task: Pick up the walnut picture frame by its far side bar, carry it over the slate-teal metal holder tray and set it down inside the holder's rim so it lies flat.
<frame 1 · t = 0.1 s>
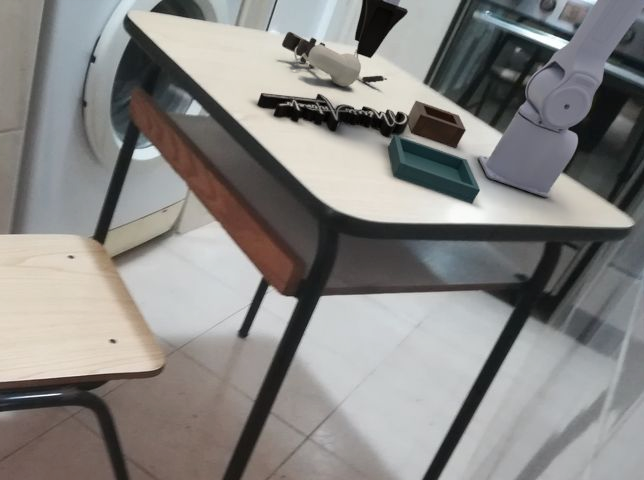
hand: (362, 48, 94), 10 cm above the table, tool pointing down, fingers open, 7 cm apart
nameplate: (338, 120, 100), on the table
frame: (430, 132, 108), on the table
holder: (428, 174, 93), on the table
clip-on lamp: (330, 78, 117), on the table
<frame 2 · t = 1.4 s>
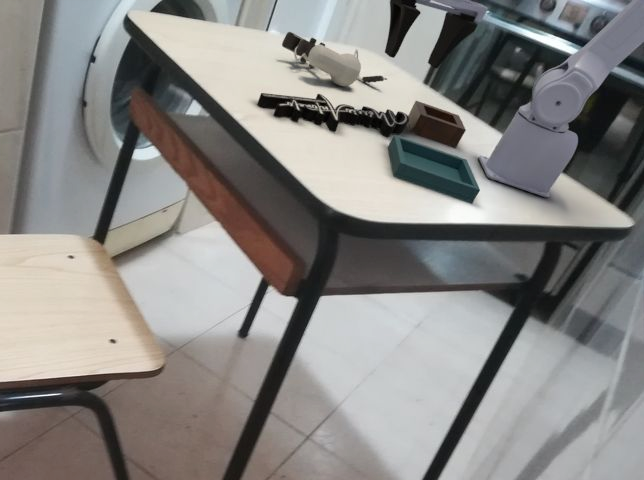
hand: (411, 60, 99), 10 cm above the table, tool pointing down, fingers open, 7 cm apart
nothing on the table moved.
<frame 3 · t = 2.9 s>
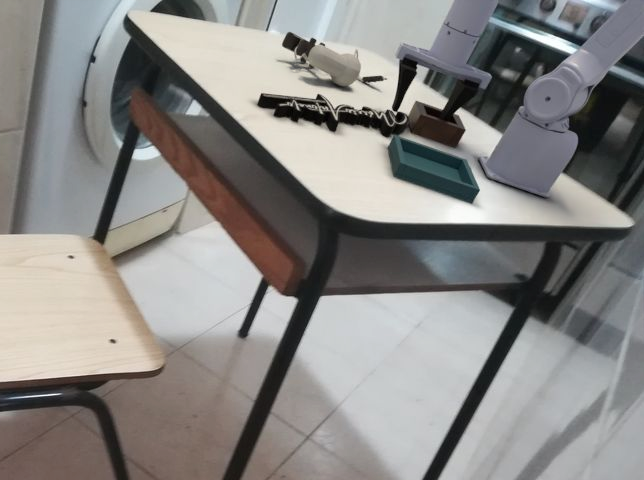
hand: (416, 117, 107), 1 cm above the table, tool pointing down, fingers open, 7 cm apart
nameplate: (338, 120, 100), on the table, touching gripper
everything else where it was.
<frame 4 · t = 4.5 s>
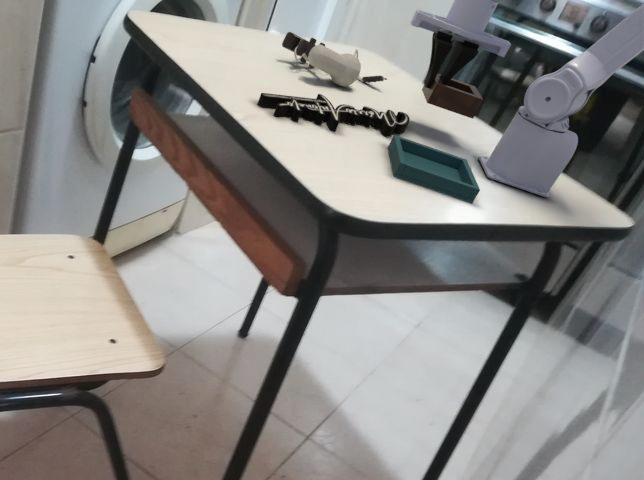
hand: (432, 88, 104), 6 cm above the table, tool pointing down, fingers closed on frame
nameplate: (338, 120, 100), on the table
frame: (446, 103, 105), point 5 cm above the table, touching gripper
everything else where it was.
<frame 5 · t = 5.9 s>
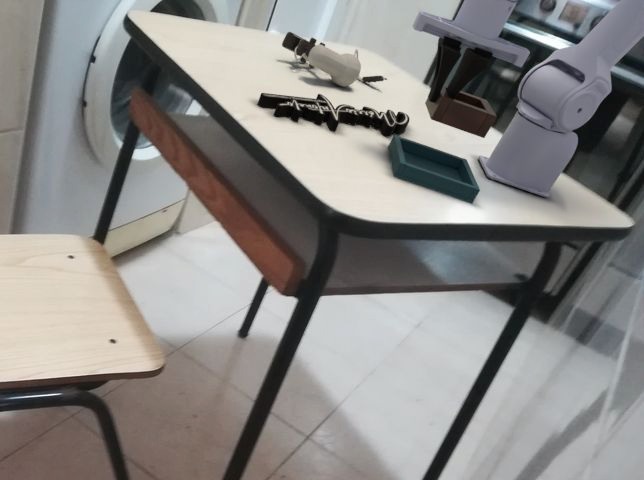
hand: (437, 102, 89), 8 cm above the table, tool pointing down, fingers closed on frame
frame: (453, 120, 90), point 7 cm above the table, touching gripper
everything else where it was.
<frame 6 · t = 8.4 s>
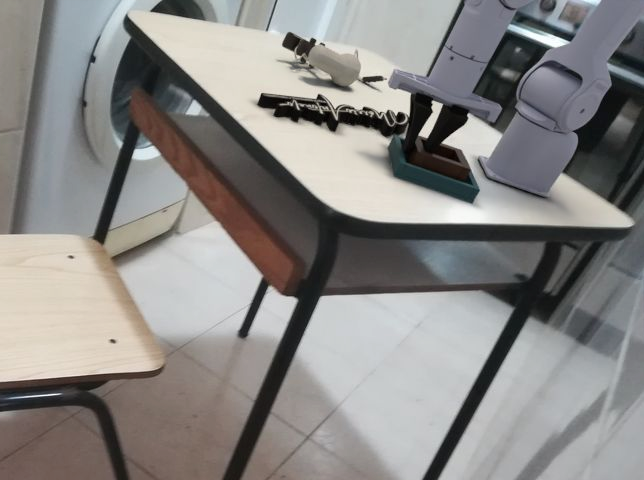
hand: (413, 154, 91), 2 cm above the table, tool pointing down, fingers closed
frame: (429, 170, 92), resting on holder
everything else where it was.
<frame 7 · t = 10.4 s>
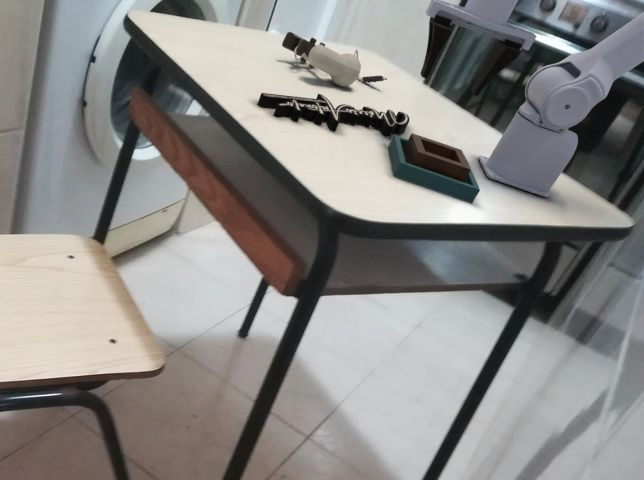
hand: (448, 84, 95), 9 cm above the table, tool pointing down, fingers open, 7 cm apart
nothing on the table moved.
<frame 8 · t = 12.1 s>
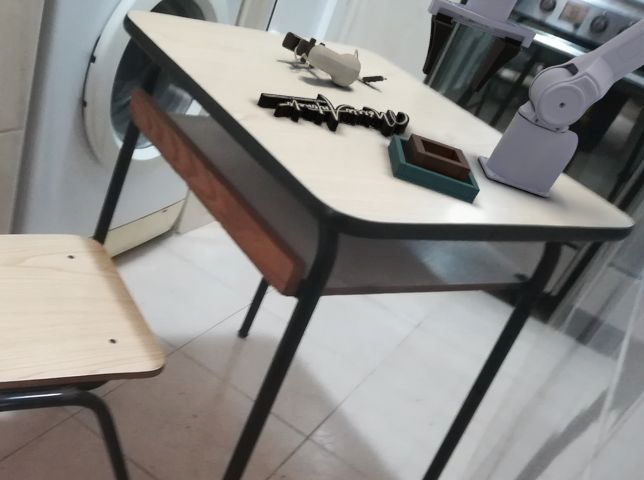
hand: (450, 81, 96), 9 cm above the table, tool pointing down, fingers open, 7 cm apart
nothing on the table moved.
at the end: frame 0.0 cm off-centre in the holder, point 0.5 cm above the holder's base; frame tilted 0°; the gripper is holding nothing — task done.
